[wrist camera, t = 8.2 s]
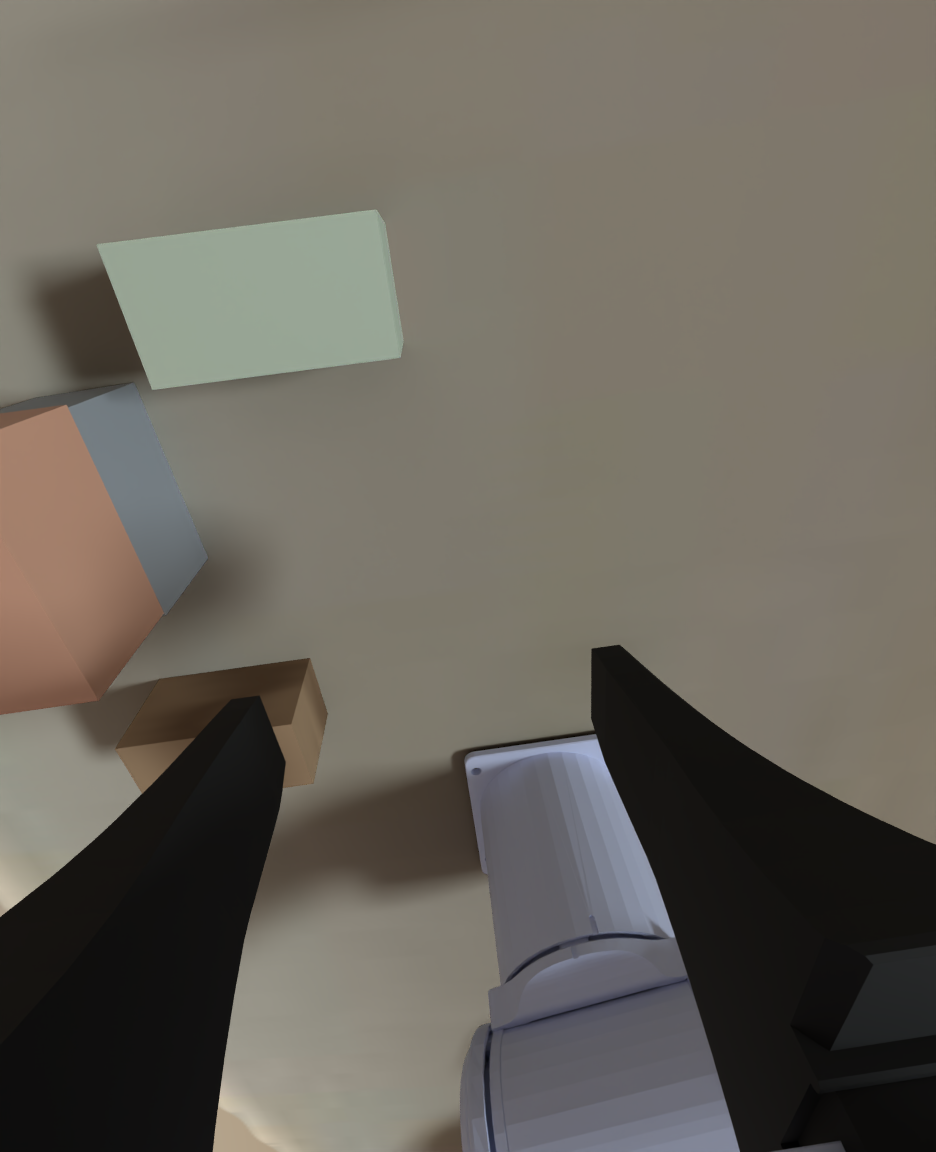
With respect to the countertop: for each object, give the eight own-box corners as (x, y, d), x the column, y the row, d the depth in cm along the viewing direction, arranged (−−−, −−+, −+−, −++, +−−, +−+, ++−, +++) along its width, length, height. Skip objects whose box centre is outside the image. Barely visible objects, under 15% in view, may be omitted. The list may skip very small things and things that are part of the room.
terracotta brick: (164, 613, 17) (98, 700, 13) (61, 627, 17) (-31, 719, 13) (66, 404, 14) (-52, 448, 10) (-61, 421, 14) (-223, 470, 10)
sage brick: (385, 223, 16) (376, 209, 12) (403, 341, 17) (400, 357, 14) (167, 251, 16) (95, 244, 12) (205, 366, 17) (152, 389, 14)
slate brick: (208, 557, 20) (165, 615, 17) (124, 570, 20) (64, 631, 17) (135, 382, 17) (63, 409, 14) (35, 397, 17) (-61, 428, 14)
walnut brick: (310, 656, 23) (291, 724, 20) (327, 711, 25) (313, 783, 21) (160, 677, 23) (114, 748, 20) (188, 731, 25) (150, 806, 21)
